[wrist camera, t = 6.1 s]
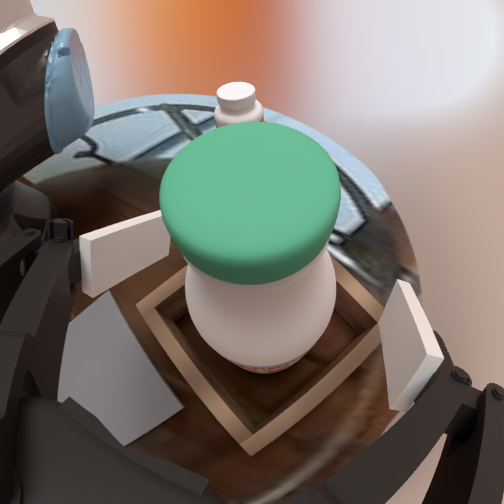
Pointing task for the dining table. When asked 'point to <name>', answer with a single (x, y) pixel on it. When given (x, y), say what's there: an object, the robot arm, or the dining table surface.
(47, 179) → the dining table surface
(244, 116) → the supplement bottle
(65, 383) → the rubber mat
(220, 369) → the dining table surface
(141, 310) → the walnut crate
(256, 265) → the milk bottle
